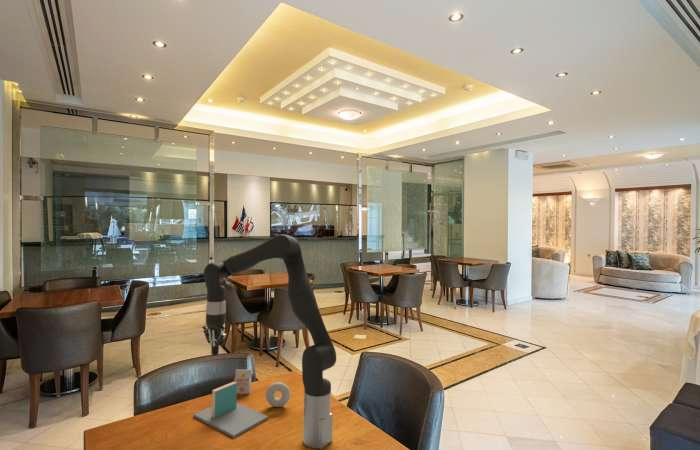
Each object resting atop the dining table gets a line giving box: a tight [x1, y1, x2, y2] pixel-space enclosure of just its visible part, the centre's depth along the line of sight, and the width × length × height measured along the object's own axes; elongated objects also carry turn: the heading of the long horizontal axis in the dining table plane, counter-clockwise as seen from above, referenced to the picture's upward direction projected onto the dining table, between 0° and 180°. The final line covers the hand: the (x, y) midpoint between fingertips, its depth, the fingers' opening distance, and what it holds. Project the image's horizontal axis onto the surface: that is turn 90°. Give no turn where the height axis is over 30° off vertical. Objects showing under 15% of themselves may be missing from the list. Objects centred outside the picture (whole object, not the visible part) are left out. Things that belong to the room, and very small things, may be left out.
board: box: [193, 402, 269, 439], centre depth 140 cm, size 24×16×1 cm, turn 56°
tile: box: [211, 381, 238, 418], centre depth 143 cm, size 2×10×10 cm, turn 146°
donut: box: [265, 381, 291, 408], centre depth 150 cm, size 10×4×10 cm, turn 91°
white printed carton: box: [233, 369, 252, 395], centre depth 162 cm, size 4×7×10 cm, turn 92°
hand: (214, 354), depth 147 cm, fingers closed
